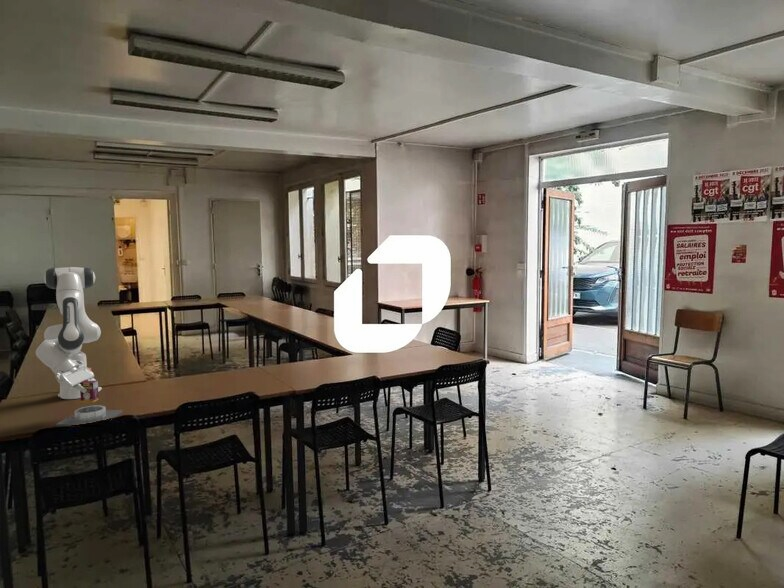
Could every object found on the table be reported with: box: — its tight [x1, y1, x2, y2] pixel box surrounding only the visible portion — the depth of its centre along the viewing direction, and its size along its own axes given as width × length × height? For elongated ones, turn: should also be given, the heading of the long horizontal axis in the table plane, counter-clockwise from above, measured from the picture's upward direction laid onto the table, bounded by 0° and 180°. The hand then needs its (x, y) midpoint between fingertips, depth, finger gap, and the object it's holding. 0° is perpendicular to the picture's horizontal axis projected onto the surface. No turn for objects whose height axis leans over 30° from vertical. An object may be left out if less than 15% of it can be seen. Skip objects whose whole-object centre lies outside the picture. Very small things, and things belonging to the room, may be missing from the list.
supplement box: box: [80, 380, 99, 403], centre depth 245 cm, size 6×5×9 cm
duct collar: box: [55, 404, 124, 427], centre depth 246 cm, size 20×20×4 cm
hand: (89, 390), depth 245 cm, fingers closed on supplement box, 5 cm apart
